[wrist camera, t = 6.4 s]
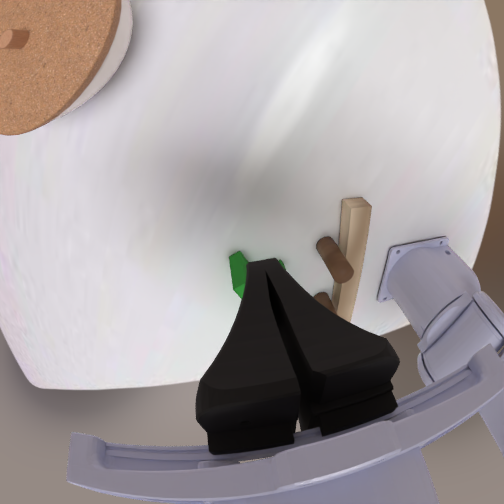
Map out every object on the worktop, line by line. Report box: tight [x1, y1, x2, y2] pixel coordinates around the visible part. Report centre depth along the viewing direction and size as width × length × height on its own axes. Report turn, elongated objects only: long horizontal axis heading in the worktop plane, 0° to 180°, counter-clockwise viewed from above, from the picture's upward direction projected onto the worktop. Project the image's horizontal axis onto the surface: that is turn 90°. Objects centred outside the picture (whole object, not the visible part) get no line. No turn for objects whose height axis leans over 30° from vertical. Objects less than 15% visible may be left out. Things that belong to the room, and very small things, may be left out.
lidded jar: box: [0, 0, 133, 135], centre depth 8 cm, size 11×11×9 cm
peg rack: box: [314, 197, 372, 322], centre depth 25 cm, size 4×16×4 cm, turn 6°
